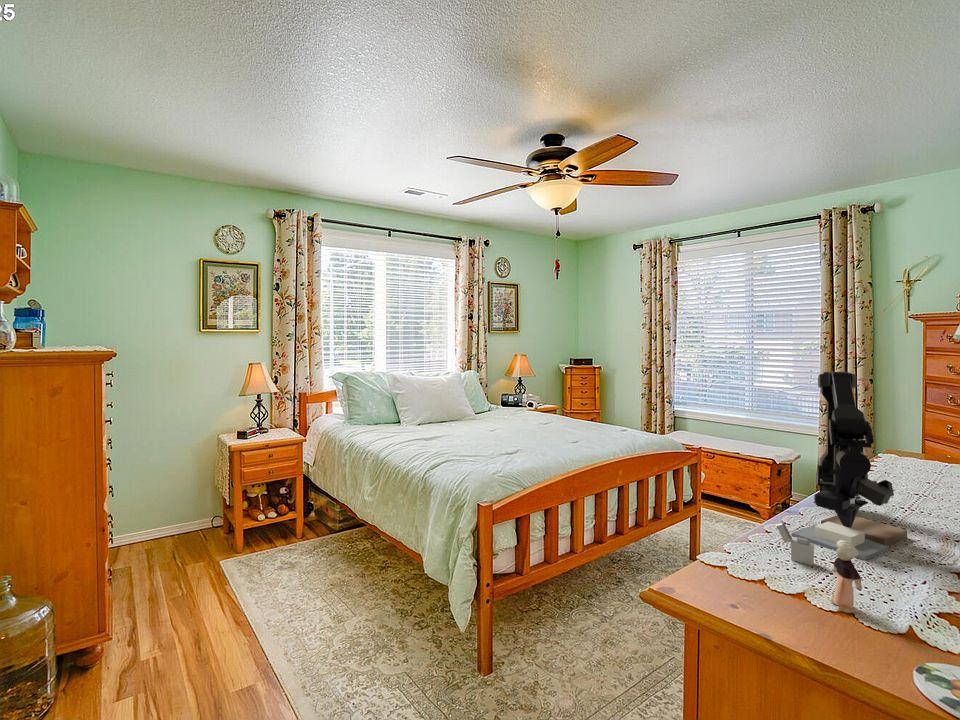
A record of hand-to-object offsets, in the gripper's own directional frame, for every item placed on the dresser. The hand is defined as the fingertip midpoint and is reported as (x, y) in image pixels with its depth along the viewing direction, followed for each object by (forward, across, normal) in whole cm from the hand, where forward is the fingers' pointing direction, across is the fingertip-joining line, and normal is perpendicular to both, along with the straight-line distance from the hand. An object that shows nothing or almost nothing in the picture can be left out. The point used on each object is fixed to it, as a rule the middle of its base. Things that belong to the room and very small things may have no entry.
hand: (847, 528), depth 122 cm
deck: (+3, +7, 0) cm, 8 cm away
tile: (+2, -4, 0) cm, 4 cm away
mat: (+3, -4, 0) cm, 5 cm away
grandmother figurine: (+3, -34, -16) cm, 38 cm away
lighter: (+3, -22, 0) cm, 22 cm away
